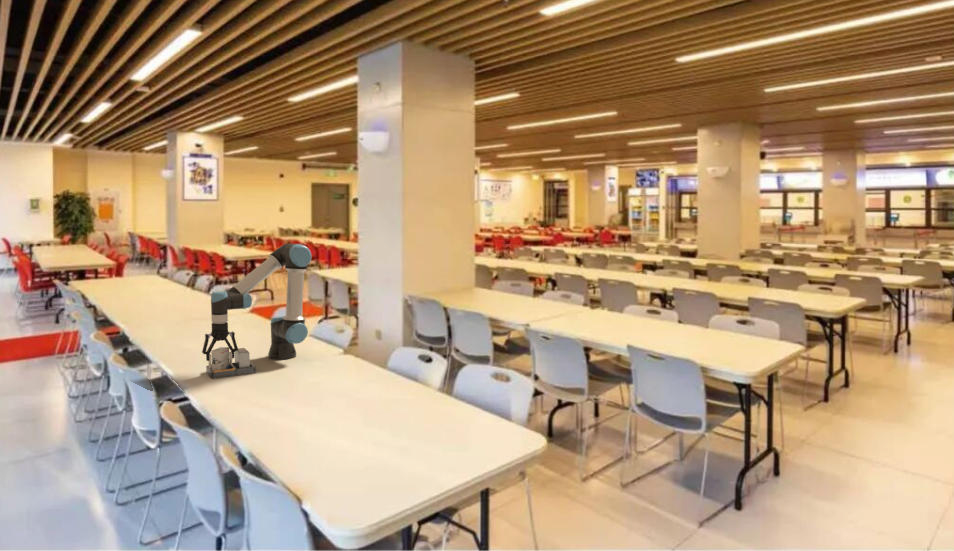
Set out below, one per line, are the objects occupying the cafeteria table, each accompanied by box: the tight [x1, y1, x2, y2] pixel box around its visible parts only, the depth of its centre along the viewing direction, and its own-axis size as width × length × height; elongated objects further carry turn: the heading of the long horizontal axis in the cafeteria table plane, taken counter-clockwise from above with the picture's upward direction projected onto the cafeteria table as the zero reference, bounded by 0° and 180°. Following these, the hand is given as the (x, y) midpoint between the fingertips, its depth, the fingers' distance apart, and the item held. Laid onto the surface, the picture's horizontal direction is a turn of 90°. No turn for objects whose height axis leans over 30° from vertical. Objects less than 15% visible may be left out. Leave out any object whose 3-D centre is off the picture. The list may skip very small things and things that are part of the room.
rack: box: [206, 347, 257, 380], centre depth 307 cm, size 21×15×11 cm
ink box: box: [210, 346, 230, 371], centre depth 304 cm, size 9×5×12 cm, turn 170°
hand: (220, 365), depth 304 cm, fingers open, 9 cm apart
